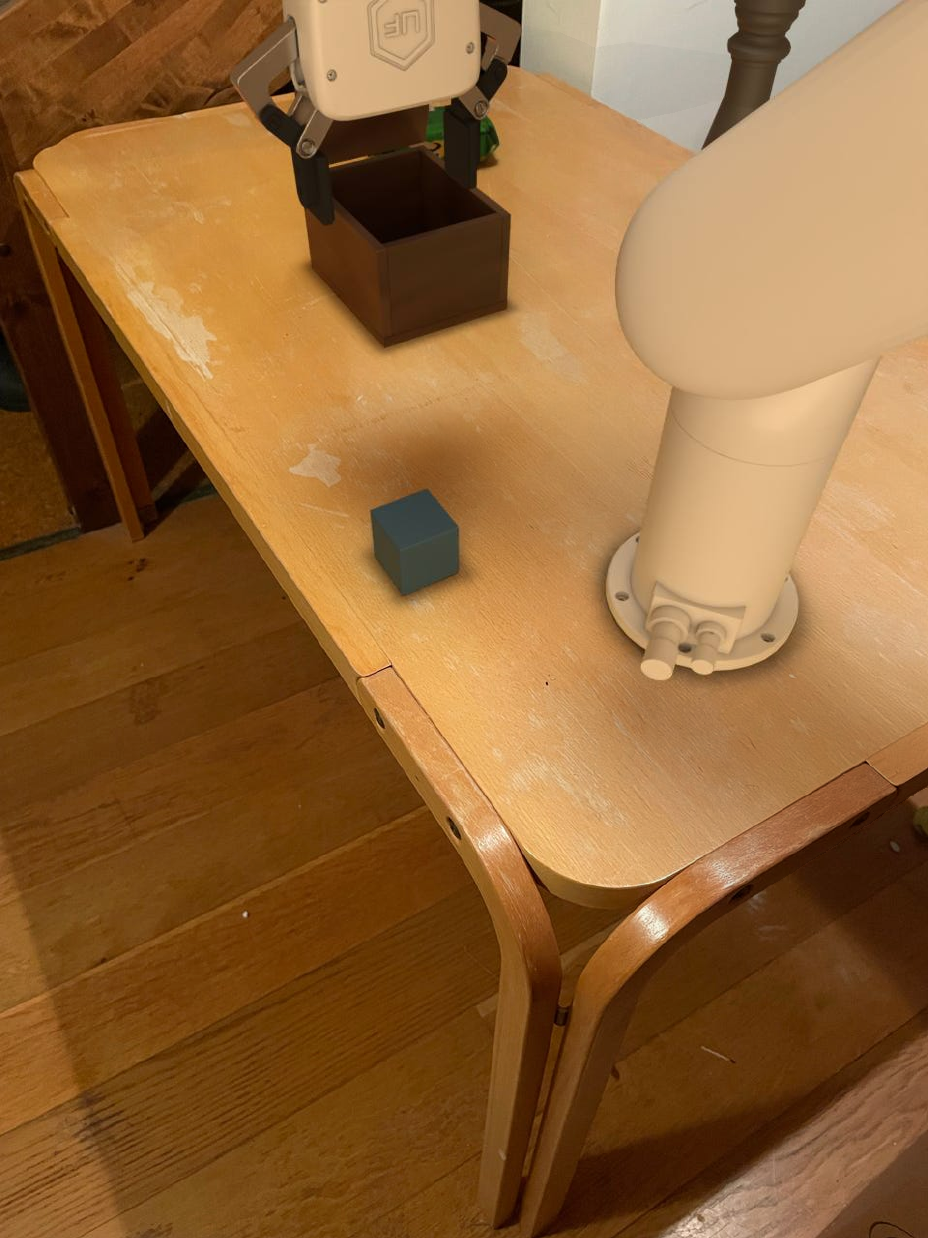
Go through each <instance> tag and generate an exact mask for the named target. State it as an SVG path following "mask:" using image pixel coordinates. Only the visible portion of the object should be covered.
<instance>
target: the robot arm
mask: <svg viewBox="0 0 928 1238" xmlns="http://www.w3.org/2000/svg"><path fill="white" fill-rule="evenodd" d="M281 2H282V16H283V17H282V18H283V24H281V25H280V26H279V27H278V28H277V29H275V30H274V31H273V32H272V33H271V34H270V35H269V36H268V37H266V39H264V40H263V41H262V42H261V43H260V44H259V45H258V46H256V48H254V49H253V50H252V51H251V52H250V53H249V54H247V55H246V57H245V58H242V60H241V61H240V62H239V63H237V64H236V65H235V66H234V67H233V68H232V69H231V71H230V73H229V80H230V83H231V84H232V86H233V87H234V89H235V90H236V92H237V93H238V94H239V96H240V98H241V99H242V100H243V101H244V104H245V105H246V106H247V107H248V108H249V110H250V111H251V113H252V114H253V116H254V118H255V119H256V120H257V121H258V122H259V123H260V124H261V126H263V127H264V128H265V129H266V131H268V132H269V133H270V134H272V135H273V136H274V137H276V138H277V139H278V140H279V141H281V142H282V143H283V144H285V145H286V146H287V147H289V149H290V155H291V162H292V169H293V175H294V182H295V190H296V195H297V199H298V201H299V203H300V205H301V207H303V209H304V208H305V209H309V210H310V212H311V213H312V214H313V215H314V216H315V217H316V218H317V219H318V220H319V221H320V222H321V224H322V225H323V226H327V225H331V224H333V221H335V212H334V204H333V195H332V187H331V178H330V170H329V168H330V165H329V162H328V158H327V156H326V155H325V154H324V153H323V152H322V151H321V150H320V148H319V146H320V144H321V142H322V141H323V139H324V137H325V135H326V133H327V131H328V129H329V127H330V126H331V124H332V122H333V120H338V121H349V120H356V119H361V118H366V117H371V116H376V115H381V114H385V113H390V112H395V111H399V110H404V109H409V108H413V107H418V106H422V105H427V104H429V105H431V104H436V103H440V102H443V101H448V100H450V104H446V105H444V106H445V111H444V112H443V129H444V168H445V172H446V173H447V174H448V175H449V176H450V177H451V178H453V179H454V180H455V181H456V182H457V183H459V184H460V185H461V186H462V187H463V188H466V189H467V190H469V189H473V188H476V187H478V167H480V165H481V162H480V161H481V119H483V118H485V117H486V116H488V114H489V112H490V107H491V106H490V102H491V101H492V99H493V98H494V96H495V95H496V93H498V90H499V89H500V88H501V86H502V85H503V83H505V81H506V79H507V76H508V72H509V71H508V65H509V63H510V62H511V61H512V58H513V56H514V53H515V51H516V48H517V46H518V43H519V42H520V41H519V40H520V38H521V35H522V32H523V31H522V25H521V23H519V22H518V21H516V20H515V19H513V18H511V17H509V16H508V15H506V14H504V13H501V12H499V11H498V10H496V9H494V8H492V7H490V6H488V5H487V4H484V3H483V2H480V0H281ZM481 33H484V34H485V35H486V39H487V40H486V44H485V47H484V49H485V51H484V53H483V54H482V41H481V40H482V39H481V36H482V35H481ZM287 68H289V73H290V79H291V81H292V85H293V86H294V87H295V89H296V90H297V91H298V92H297V94H296V96H295V95H294V98H293V100H292V102H291V104H290V106H289V109H288V110H287V112H285V111H283V110H282V109H281V108H279V106H277V104H276V102H275V101H274V100H273V98H272V96H271V95H270V91H269V87H270V84H271V83H272V81H274V80H275V79H276V78H277V77H278V76H279V75H280V74H282V73H283V71H285V70H286V69H287ZM614 296H615V298H614V299H615V308H616V313H617V318H618V321H619V324H620V327H621V330H622V334H623V335H624V337H625V340H626V341H627V343H628V345H629V347H630V349H631V350H632V352H633V353H634V355H635V356H636V357H637V358H638V360H639V361H640V362H641V363H642V364H643V365H644V366H645V368H646V369H648V370H649V371H650V372H651V373H652V374H653V375H655V376H656V377H657V378H659V379H660V380H661V381H663V382H665V383H667V384H668V385H670V386H672V388H671V391H670V396H669V400H668V405H667V409H666V414H665V418H664V424H663V426H662V431H661V436H660V440H659V445H658V450H657V455H656V459H655V463H654V468H653V471H652V472H653V473H652V478H651V482H650V487H649V490H648V494H647V495H648V496H647V500H646V505H645V508H644V513H643V518H642V522H641V527H640V530H639V531H638V532H636V533H635V534H633V535H631V536H629V538H628V539H626V540H625V541H624V542H623V543H622V544H621V545H620V546H619V547H618V548H617V550H616V551H615V553H614V554H613V556H612V558H611V560H610V562H609V565H608V568H607V572H606V573H607V574H606V579H605V598H606V601H607V605H608V608H609V611H610V612H611V614H612V616H613V618H614V619H615V622H616V624H617V625H618V626H619V627H620V628H621V630H622V631H623V632H624V633H625V635H626V636H627V637H628V638H630V639H631V640H632V641H633V642H634V643H636V644H637V645H638V646H639V647H640V648H642V649H643V650H644V654H643V656H642V660H641V664H640V666H639V668H640V670H641V673H642V674H643V675H644V676H646V677H647V678H649V679H652V680H655V681H665V680H668V679H670V678H671V676H673V673H674V671H675V670H674V669H675V666H676V665H677V666H681V667H686V668H688V669H692V671H693V672H695V673H697V674H698V675H703V676H706V675H710V674H712V673H713V672H714V671H715V672H717V671H732V670H733V671H734V670H737V669H743V668H747V667H750V666H753V665H755V664H758V663H760V662H762V661H764V660H766V659H768V658H769V657H770V656H772V655H773V654H774V653H776V652H777V651H779V649H780V648H781V647H782V646H783V645H784V644H785V643H786V642H787V640H788V638H789V636H790V634H791V633H792V631H793V628H794V626H795V624H796V621H797V618H798V615H799V601H800V600H799V595H798V590H797V586H796V584H795V582H794V579H793V577H792V575H791V573H790V570H791V568H792V566H793V563H794V561H795V559H796V556H797V554H798V551H799V549H800V547H801V545H802V542H803V540H804V538H805V535H806V532H807V530H808V528H809V526H810V523H811V521H812V519H813V516H814V513H815V511H816V509H817V507H818V504H819V502H820V500H821V497H822V495H823V492H824V490H825V488H826V485H827V482H828V480H829V478H830V475H831V473H832V471H833V468H834V466H835V464H836V462H837V459H838V457H839V455H840V452H841V449H842V448H843V445H844V443H845V441H846V440H847V438H848V435H849V433H850V432H851V428H852V427H853V423H854V421H855V419H856V417H857V415H858V412H859V410H860V408H861V405H862V403H863V400H864V398H865V395H866V393H867V391H868V389H869V387H870V384H871V382H872V380H873V378H874V375H875V374H876V371H877V369H878V366H879V365H880V362H881V360H882V358H883V356H884V355H886V354H888V353H890V352H893V351H896V350H899V349H901V348H903V347H906V346H908V345H911V344H913V343H916V342H917V341H921V340H924V339H925V338H928V0H901V1H899V2H898V3H897V4H895V5H894V6H893V7H892V8H890V9H889V10H887V11H886V12H885V13H883V14H882V15H881V16H879V17H878V18H876V19H875V20H874V21H873V22H871V23H870V24H868V25H867V26H866V27H864V29H861V31H860V32H858V33H857V34H856V35H854V36H853V37H851V39H849V40H848V41H847V42H845V43H843V44H842V45H841V46H840V47H838V48H836V49H835V50H834V51H833V52H832V53H830V54H829V55H827V56H826V57H825V58H824V59H822V60H821V61H820V62H818V63H816V64H815V65H814V66H813V67H811V68H810V69H809V70H807V71H806V72H804V74H802V75H800V76H799V77H798V78H796V79H795V80H794V81H793V82H791V83H789V84H788V85H787V86H786V87H785V88H783V89H782V90H780V91H778V93H776V94H775V95H774V96H773V97H770V100H768V101H767V102H766V103H764V104H763V105H762V106H760V107H759V108H758V109H756V110H755V111H754V112H752V113H751V114H750V115H748V116H747V117H746V118H744V119H743V120H742V121H740V122H739V123H738V124H736V125H735V126H733V127H732V128H731V129H729V130H728V131H727V132H725V133H724V134H723V135H721V136H720V137H719V138H717V139H716V140H715V141H713V142H712V143H711V144H709V145H708V146H706V147H705V148H704V149H702V150H701V149H700V150H699V151H698V152H697V153H695V154H694V155H692V156H691V157H690V158H689V159H687V160H686V161H685V162H683V163H681V164H680V165H679V166H677V167H676V168H674V169H673V170H672V171H671V172H669V173H667V174H666V175H665V176H664V177H663V178H662V179H661V180H660V181H658V183H657V184H656V185H655V186H654V187H653V188H652V189H651V190H650V192H649V193H648V194H647V195H646V196H645V198H644V199H643V200H642V202H641V203H640V204H639V206H638V207H637V209H636V210H635V212H634V214H633V216H632V218H631V219H630V221H629V223H628V226H627V228H626V230H625V232H624V234H623V238H622V241H621V243H620V247H619V251H618V255H617V260H616V266H615V275H614Z"/></svg>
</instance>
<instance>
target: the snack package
mask: <svg viewBox="0 0 928 1238" xmlns="http://www.w3.org/2000/svg"><path fill="white" fill-rule="evenodd" d="M445 106H446V105H441V106H429V113H428V122H427V131H426V140H425V142H423V143H419V144H415V145H411V146H407V147H402V148H398V149H394V150H390V151H386V152H382V153H377V154H373V155H369V156H367V158H371V157H375V156H380V155H384V154H388V153H392V152H396V151H400V150H405V149H409V148H413V147H417V146H422V145H424V146H425V147H427V148H428V149H429V150H431V151H432V152H433V153H434V154H436V155H437V156H438V157H439V158H441V159H442V160H443V161H444V129H443V112H444V111H445ZM499 146H500V140H499V136H498V134H497V131H496V127H495V125H494V123H493V121H492V120H491V119H490V117H489V116H488V115H487V116H486V117H485V118H483V119H481V161H480V163H482V162H484V161H485V160H486V159H487V158H488V157H490V155H491V154H492V153H493V152H495V150H497V149H498V148H499Z"/></svg>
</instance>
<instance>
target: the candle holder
mask: <svg viewBox="0 0 928 1238" xmlns="http://www.w3.org/2000/svg"><path fill="white" fill-rule="evenodd" d="M806 2H807V0H733V3H734V4H735V6H734V14H735V18H736V26H737V28H738V30H737V31H736V32H735V33H734V34H732V35H731V36H730V37H728V39H727V41H726V49H727V52H728V54H729V55H730V60H731V62H730V67H729V72H728V77H727V81H726V86H725V91H724V95H723V98H722V99H721V102H720V104H719V107H718V109H717V112H716V114H715V116H714V119H713V121H712V124H711V126H710V128H709V131H708V132H707V134H706V137H705V140H704V142H703V144H702V146H701V149H700V151H701V150H702V149H704V148H705V147H706V146H708V145H709V144H711V143H712V142H713V141H715V140H716V139H717V138H719V137H720V136H721V135H723V134H724V133H725V132H727V131H728V130H729V129H731V128H732V127H733V126H735V125H736V124H738V123H739V122H740V121H742V120H743V119H744V118H746V117H747V116H748V115H750V114H751V113H752V112H754V111H755V110H756V109H758V108H759V107H760V106H762V105H763V104H764V103H766V102H767V101H768V100H770V99H771V95H772V91H773V87H774V83H775V79H776V76H777V71H778V67H779V65H780V64H781V63H782V61H783V60H785V59H786V58H787V57H788V56H789V54H790V52H791V49H792V45H791V43H790V40H789V39H788V38H787V37H786V34H787V33H788V32H789V31H790V29H791V27H792V25H793V24H794V22H795V21H796V20H797V19H798V18H799V16H800V11H801V10H802V9H803V8H804V7H805V6H806Z"/></svg>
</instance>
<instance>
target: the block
mask: <svg viewBox="0 0 928 1238" xmlns="http://www.w3.org/2000/svg"><path fill="white" fill-rule="evenodd" d="M369 514H370V524H371V525H370V526H371V533H372V543H373V544H372V545H373V552H374V557H375V558H376V559H377V561H378V563H379V564H380V566H381V567H382V568H383V570H384V571H385V572H386V573H387V575H388V576H389V578H390V579H391V581H392V582H393V583H394V585H395V586H396V588H397V589H398V591H399V592H400V593H401V595H402V596H406V595H408V594H410V593H411V594H412V593H413V592H415V591H418V590H421V589H422V588H425V587H428V586H430V585H432V584H434V583H437V582H439V581H442V580H444V579H447V578H449V577H451V576H454V575H456V574H458V573H459V572H460V527H459V525H458V524H457V523H456V522H455V520H454V518H452V517H451V515H450V514H449V513H448V511H447V510H446V509H445V508H444V507H443V506H442V504H441V503H440V502H439V500H438V499H437V498H436V497H435V496H434V495H433V493H432V492H431V490H429V489H428V488H424V489H421V490H419V491H416V492H414V493H411V494H409V495H406V496H404V497H401V498H398V499H395V500H392V501H390V502H387V503H385V504H382V505H380V506H376V507H375V508H372V509H370V510H369Z"/></svg>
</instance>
